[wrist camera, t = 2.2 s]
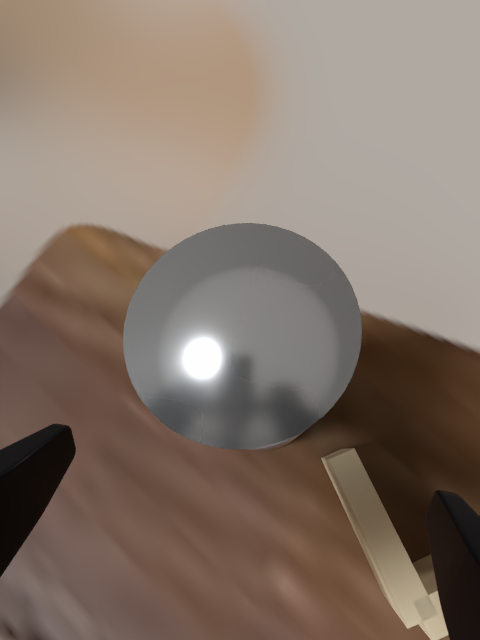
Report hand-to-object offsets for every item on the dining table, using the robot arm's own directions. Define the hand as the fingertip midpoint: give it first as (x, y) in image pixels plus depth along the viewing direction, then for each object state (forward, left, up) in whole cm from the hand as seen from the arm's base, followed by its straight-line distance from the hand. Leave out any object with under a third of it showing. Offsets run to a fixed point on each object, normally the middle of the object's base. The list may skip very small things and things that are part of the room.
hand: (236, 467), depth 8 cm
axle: (+2, +2, -10) cm, 10 cm away
